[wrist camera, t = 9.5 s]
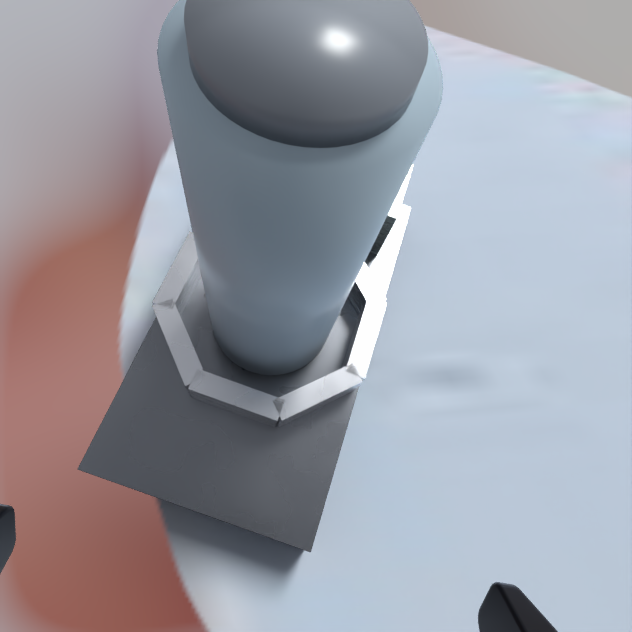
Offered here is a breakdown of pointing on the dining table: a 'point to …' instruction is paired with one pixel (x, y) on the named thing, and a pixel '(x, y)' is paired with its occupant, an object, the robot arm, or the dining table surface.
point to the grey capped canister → (291, 155)
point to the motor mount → (241, 407)
